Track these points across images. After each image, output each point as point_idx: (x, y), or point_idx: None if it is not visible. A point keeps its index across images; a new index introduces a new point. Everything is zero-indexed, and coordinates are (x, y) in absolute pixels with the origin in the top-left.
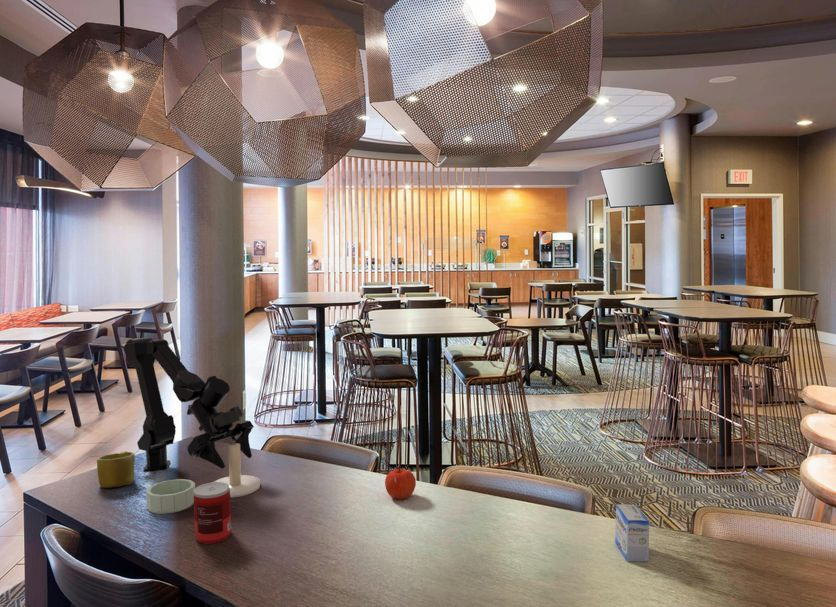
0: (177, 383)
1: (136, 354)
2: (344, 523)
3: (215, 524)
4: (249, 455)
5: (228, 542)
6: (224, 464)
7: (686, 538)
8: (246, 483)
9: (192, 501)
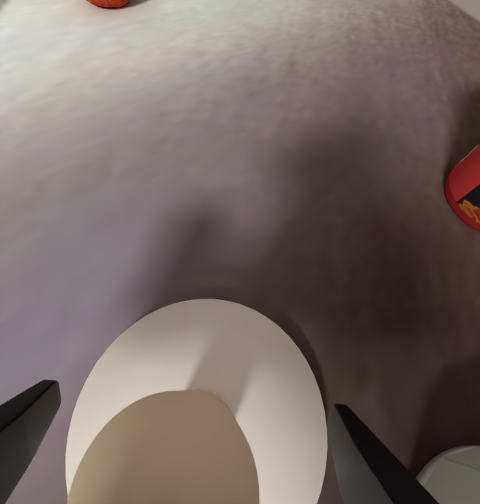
0: None
1: None
2: (268, 35)
3: None
4: (49, 397)
5: None
6: (341, 412)
7: None
8: (175, 368)
9: (453, 455)
